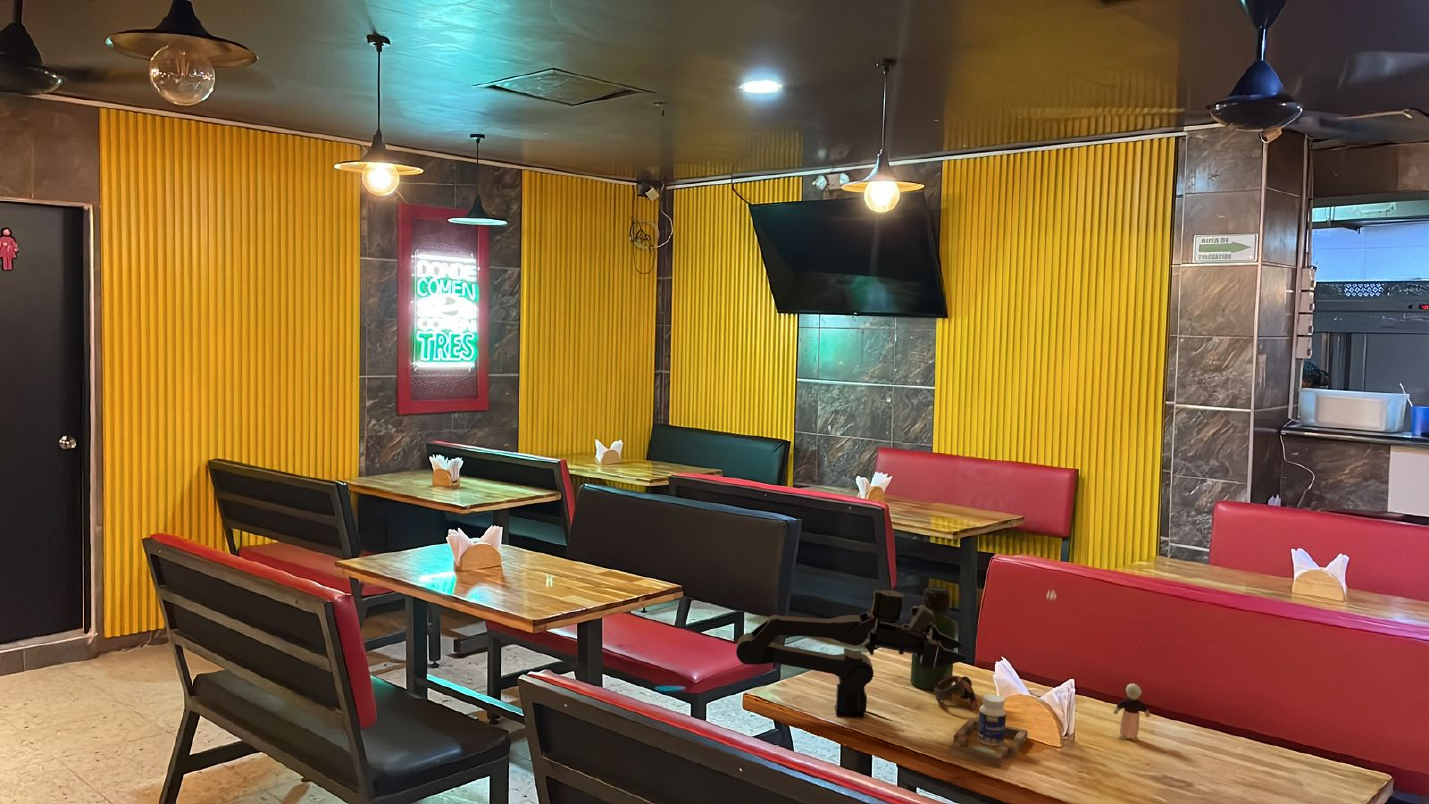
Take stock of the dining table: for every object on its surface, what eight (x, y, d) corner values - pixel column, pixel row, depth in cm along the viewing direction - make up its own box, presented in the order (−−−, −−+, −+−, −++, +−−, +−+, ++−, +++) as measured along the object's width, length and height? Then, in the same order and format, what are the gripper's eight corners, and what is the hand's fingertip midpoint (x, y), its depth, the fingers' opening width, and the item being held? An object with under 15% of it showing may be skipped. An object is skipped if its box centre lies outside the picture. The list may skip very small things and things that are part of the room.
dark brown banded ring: (974, 718, 250) (958, 688, 250) (940, 726, 256) (924, 696, 256) (989, 692, 260) (973, 663, 260) (955, 700, 266) (940, 671, 265)
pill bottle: (985, 747, 231) (988, 702, 231) (972, 737, 237) (975, 694, 236) (1009, 746, 233) (1011, 701, 232) (995, 736, 238) (998, 692, 238)
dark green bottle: (957, 684, 274) (963, 588, 272) (943, 694, 265) (949, 595, 263) (919, 675, 279) (924, 581, 277) (904, 685, 270) (909, 588, 269)
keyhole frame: (969, 726, 244) (970, 717, 243) (1027, 739, 237) (1027, 730, 237) (943, 754, 226) (944, 745, 226) (1005, 769, 220) (1005, 759, 220)
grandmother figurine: (1116, 740, 239) (1120, 685, 238) (1110, 734, 243) (1114, 680, 242) (1150, 742, 239) (1154, 687, 238) (1144, 736, 242) (1148, 681, 242)
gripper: (905, 616, 237) (975, 630, 235) (900, 593, 255) (965, 606, 253) (895, 664, 238) (965, 678, 236) (891, 638, 256) (956, 651, 255)
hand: (963, 651), depth 245 cm, fingers open, 9 cm apart
